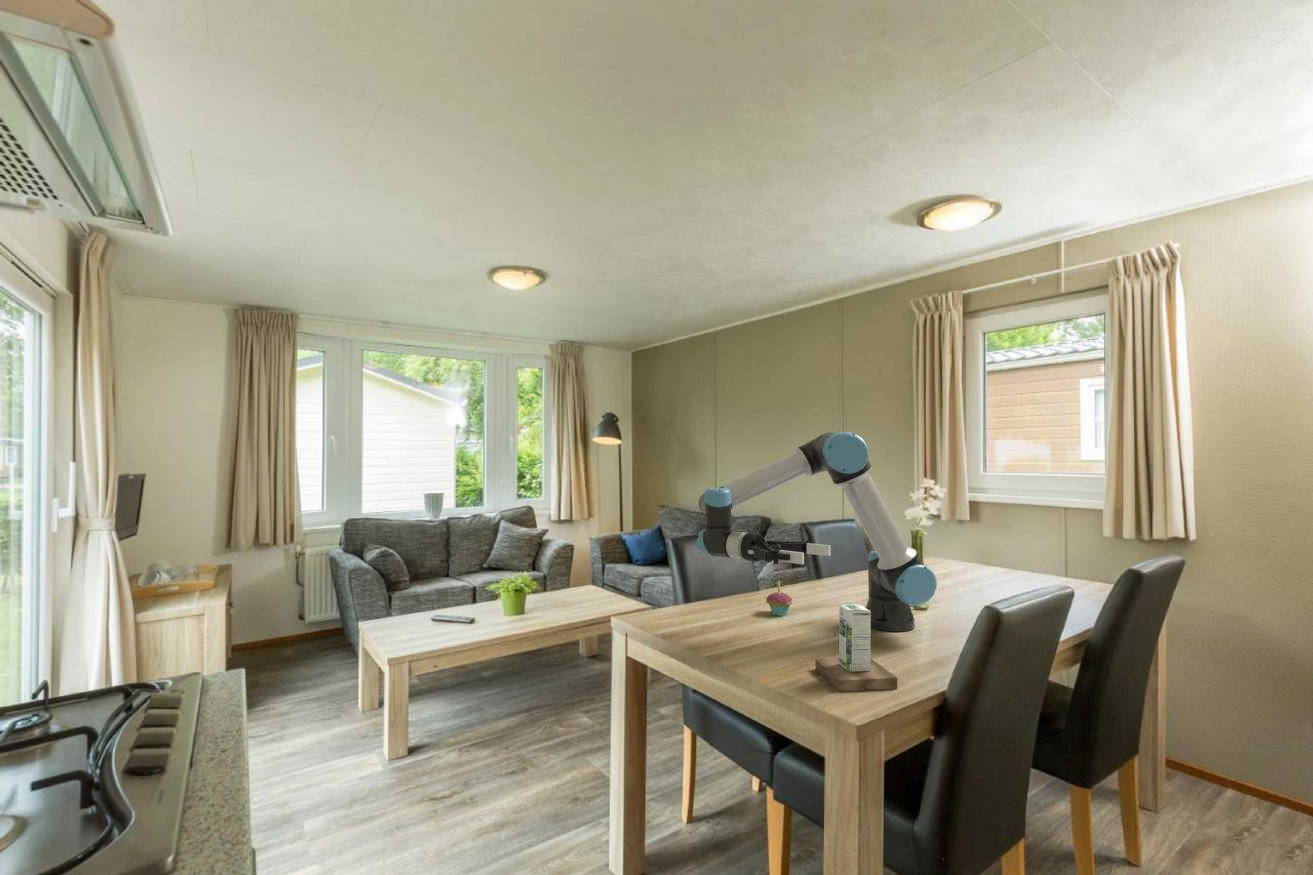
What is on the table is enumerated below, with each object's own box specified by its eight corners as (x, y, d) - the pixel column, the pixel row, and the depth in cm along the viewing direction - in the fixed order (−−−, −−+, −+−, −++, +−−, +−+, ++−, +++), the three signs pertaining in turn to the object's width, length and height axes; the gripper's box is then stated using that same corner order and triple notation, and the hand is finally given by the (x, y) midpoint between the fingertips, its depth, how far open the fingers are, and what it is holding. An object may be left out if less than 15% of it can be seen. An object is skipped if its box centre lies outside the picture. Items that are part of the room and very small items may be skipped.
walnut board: (868, 666, 152) (868, 656, 152) (897, 688, 138) (897, 677, 138) (815, 669, 151) (815, 659, 151) (838, 691, 137) (838, 680, 137)
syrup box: (838, 663, 147) (837, 604, 148) (861, 663, 148) (861, 603, 148) (847, 672, 142) (847, 610, 142) (871, 671, 142) (871, 609, 142)
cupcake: (792, 618, 196) (792, 581, 196) (765, 616, 198) (765, 580, 198) (791, 611, 204) (791, 575, 205) (766, 610, 206) (766, 574, 206)
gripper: (772, 553, 175) (840, 561, 161) (719, 567, 157) (791, 577, 143) (771, 527, 176) (839, 533, 161) (718, 538, 157) (790, 546, 143)
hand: (817, 554), depth 152 cm, fingers open, 13 cm apart
